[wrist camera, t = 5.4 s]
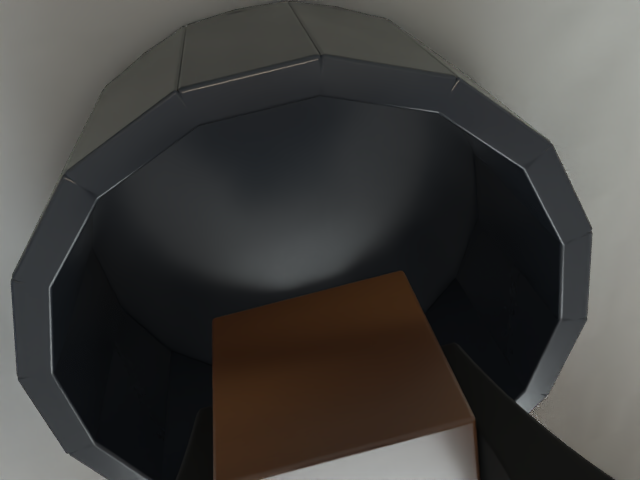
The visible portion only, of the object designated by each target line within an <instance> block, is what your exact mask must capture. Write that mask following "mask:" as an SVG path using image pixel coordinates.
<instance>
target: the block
mask: <svg viewBox="0 0 640 480" xmlns="http://www.w3.org/2000/svg"><path fill="white" fill-rule="evenodd" d="M212 388H213V480H481V479H480V466H479V454H478V442H477V429H476V418H475V416H474V414H473V412H472V410H471V408H470V406H469V404H468V402H467V399H466V397H465V395H464V393H463V391H462V389H461V387H460V385H459V383H458V381H457V379H456V377H455V375H454V373H453V371H452V369H451V367H450V365H449V363H448V361H447V359H446V357H445V355H444V353H443V351H442V349H441V346H440V344H439V342H438V340H437V338H436V336H435V334H434V332H433V330H432V328H431V326H430V324H429V322H428V320H427V318H426V316H425V314H424V312H423V310H422V308H421V306H420V304H419V302H418V300H417V298H416V295H415V293H414V291H413V289H412V287H411V285H410V283H409V281H408V279H407V277H406V275H405V273H404V272H403V271H396V272H392V273H388V274H384V275H380V276H377V277H373V278H369V279H365V280H361V281H357V282H353V283H349V284H345V285H341V286H337V287H334V288H330V289H326V290H322V291H318V292H314V293H310V294H306V295H302V296H298V297H295V298H291V299H287V300H283V301H279V302H275V303H271V304H267V305H263V306H259V307H256V308H252V309H248V310H244V311H240V312H236V313H232V314H228V315H224V316H220V317H216V318H214V319H213V320H212Z"/></svg>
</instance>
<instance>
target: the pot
mask: <svg viewBox="0 0 640 480" xmlns="http://www.w3.org/2000/svg"><path fill="white" fill-rule="evenodd" d="M591 230H592V227H591V224H590V222H589V220H588V218H587V216H586V214H585V212H584V210H583V207H582V205H581V203H580V201H579V199H578V197H577V195H576V193H575V190H574V188H573V186H572V184H571V182H570V180H569V178H568V176H567V173H566V171H565V169H564V167H563V165H562V163H561V161H560V159H559V156H558V154H557V152H556V150H555V148H554V146H553V144H551V142H550V141H549V140H548V139H547V138H546V137H544V136H543V135H542V134H541V133H539V132H538V131H537V130H535V129H534V128H533V127H532V126H530V125H529V124H528V123H526V122H525V121H524V120H523V119H521V118H520V117H519V116H518V115H516V114H515V113H514V112H512V111H511V110H510V109H509V108H507V107H506V106H505V105H503V104H502V103H501V102H500V101H498V100H497V99H496V98H495V97H493V96H492V95H491V94H489V93H488V92H487V91H486V90H484V89H483V88H482V87H481V86H479V85H478V84H477V83H475V82H474V81H473V80H472V79H470V78H469V77H468V76H466V75H465V74H464V73H463V72H461V71H460V70H459V69H457V68H456V67H455V66H453V65H452V64H450V63H449V62H448V61H446V60H445V59H443V58H442V57H441V56H439V55H438V54H436V53H435V52H434V51H432V50H431V49H429V48H428V47H427V46H425V45H424V44H423V43H422V42H420V41H418V40H417V39H415V38H414V37H413V36H411V35H410V34H408V33H407V32H406V31H404V30H403V29H401V28H400V27H399V26H397V25H396V24H395V23H393V22H392V21H390V20H387V19H386V18H382V17H377V16H371V15H367V14H363V13H359V12H355V11H351V10H348V9H344V8H340V7H336V6H328V5H319V4H310V3H301V2H295V1H289V2H286V1H283V2H279V3H275V4H264V5H258V6H253V7H247V8H241V9H235V10H232V11H229V12H226V13H223V14H219V15H216V16H213V17H210V18H207V19H204V20H201V21H199V22H196V23H191V24H188V25H187V26H183V27H182V28H180V29H179V30H178V31H176V32H175V33H174V34H172V35H171V36H169V37H168V38H166V39H165V40H163V41H162V42H160V43H159V44H157V45H156V46H154V47H153V48H151V49H150V50H148V51H147V52H145V53H144V54H143V55H142V56H141V57H140V58H139V59H137V60H136V61H135V62H134V63H133V64H132V65H131V66H130V67H129V68H127V69H126V70H125V71H124V72H123V73H122V74H121V75H119V76H118V77H117V78H115V79H114V80H113V81H112V82H110V83H109V84H108V85H106V87H105V89H103V91H102V93H101V95H100V97H99V99H98V101H97V103H96V105H95V107H94V109H93V111H92V113H91V115H90V117H89V119H88V121H87V123H86V125H85V127H84V129H83V131H82V133H81V135H80V137H79V139H78V141H77V143H76V145H75V147H74V149H73V151H72V153H71V155H70V157H69V159H68V161H67V163H66V165H65V167H64V169H63V171H62V173H61V175H60V177H59V179H58V181H57V183H56V185H55V188H54V190H53V192H52V194H51V196H50V198H49V200H48V202H47V204H46V206H45V208H44V210H43V212H42V214H41V216H40V218H39V221H38V223H37V225H36V227H35V229H34V231H33V233H32V235H31V237H30V239H29V241H28V243H27V245H26V247H25V249H24V251H23V253H22V256H21V258H20V260H19V262H18V264H17V266H16V268H15V270H14V272H13V274H12V279H11V293H12V308H13V324H14V339H15V355H16V370H17V376H18V381H19V382H20V384H21V385H22V387H23V388H24V390H25V391H26V393H27V394H28V396H29V397H30V399H31V400H32V402H33V403H34V405H35V406H36V408H37V409H38V411H39V413H40V414H41V416H42V417H43V419H44V420H45V422H46V423H47V425H48V426H49V428H50V429H51V431H52V432H53V434H54V435H55V437H56V438H57V440H58V441H59V443H60V444H61V446H62V447H63V449H64V451H65V452H66V453H69V454H70V456H72V457H73V458H75V459H77V460H78V461H80V462H81V463H83V464H84V465H86V466H88V467H89V468H91V469H92V470H94V471H95V472H97V473H98V474H100V475H102V476H103V477H105V478H106V479H108V480H176V478H177V475H178V472H179V469H180V466H181V464H182V461H183V458H184V455H185V452H186V449H187V446H188V442H189V439H190V436H191V433H192V429H193V426H194V422H195V418H196V415H197V413H198V411H199V410H200V409H201V408H204V407H208V406H212V405H213V388H212V320H213V319H214V318H216V317H220V316H224V315H228V314H232V313H236V312H240V311H244V310H248V309H252V308H256V307H259V306H263V305H267V304H271V303H275V302H279V301H283V300H287V299H291V298H295V297H298V296H302V295H306V294H310V293H314V292H318V291H322V290H326V289H330V288H334V287H337V286H341V285H345V284H349V283H353V282H357V281H361V280H365V279H369V278H373V277H377V276H380V275H384V274H388V273H392V272H396V271H403V272H404V273H405V275H406V277H407V279H408V281H409V283H410V285H411V287H412V289H413V291H414V293H415V295H416V298H417V300H418V302H419V304H420V306H421V308H422V310H423V312H424V314H425V316H426V318H427V320H428V322H429V324H430V326H431V328H432V330H433V332H434V334H435V336H436V338H437V340H438V342H439V344H440V346H442V345H446V344H450V343H456V344H458V345H459V346H460V347H461V348H462V349H463V350H464V351H465V352H466V353H467V355H468V356H469V357H470V358H471V359H472V360H473V361H474V362H475V363H476V364H477V365H478V366H479V367H480V368H481V369H482V370H483V371H484V372H485V374H486V375H488V376H489V377H490V378H491V379H492V380H493V381H494V382H495V383H496V384H497V385H498V386H499V387H500V388H501V389H502V390H503V391H504V392H505V393H506V394H507V395H508V396H509V397H511V398H512V399H513V400H514V401H515V402H516V403H517V404H518V405H519V406H521V407H522V408H523V409H524V410H525V411H526V412H527V413H528V414H529V413H530V412H531V411H532V410H533V409H534V408H535V407H536V406H537V405H538V404H539V403H540V402H541V401H542V400H543V399H544V398H545V397H546V396H547V395H548V394H549V392H550V390H551V389H552V387H553V385H554V383H555V381H556V379H557V377H558V375H559V373H560V371H561V369H562V367H563V365H564V363H565V361H566V360H567V358H568V356H569V354H570V352H571V350H572V348H573V346H574V344H575V342H576V340H577V338H578V336H579V334H580V332H581V331H582V329H583V327H584V325H585V323H586V321H587V313H588V296H589V280H590V264H591V248H592V231H591Z"/></svg>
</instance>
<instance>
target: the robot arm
mask: <svg viewBox="0 0 640 480" xmlns="http://www.w3.org/2000/svg"><path fill="white" fill-rule="evenodd" d="M441 349H442V351H443V353H444V355H445V357H446V359H447V361H448V363H449V365H450V367H451V369H452V371H453V373H454V375H455V377H456V379H457V381H458V383H459V385H460V387H461V389H462V391H463V393H464V395H465V397H466V399H467V402H468V404H469V406H470V408H471V410H472V412H473V414H474V416H475V418H476V429H477V442H478V454H479V466H480V479H481V480H615V479H613V478H612V477H610V476H609V475H607V474H606V473H604V472H603V471H602V470H600V469H599V468H597V467H596V466H594V465H593V464H592V463H590V462H589V461H587V460H586V459H585V458H583V457H582V456H581V455H579V454H578V453H577V452H575V451H574V450H573V449H571V448H570V447H569V446H567V445H566V444H565V443H564V442H562V441H561V440H560V439H559V438H557V437H556V436H555V435H554V434H552V433H551V432H550V431H549V430H547V429H546V428H545V427H544V426H543V425H541V424H540V423H539V422H538V421H537V420H535V419H534V418H533V417H532V416H531V415H530V414H528V413H527V412H526V411H525V410H524V409H523V408H522V407H521V406H519V405H518V404H517V403H516V402H515V401H514V400H513V399H512V398H511V397H509V396H508V395H507V394H506V393H505V392H504V391H503V390H502V389H501V388H500V387H499V386H498V385H497V384H496V383H495V382H494V381H493V380H492V379H491V378H490V377H489V376H488V375H486V374H485V372H484V371H483V370H482V369H481V368H480V367H479V366H478V365H477V364H476V363H475V362H474V361H473V360H472V359H471V358H470V357H469V356H468V355H467V353H466V352H465V351H464V350H463V349H462V348H461V347H460V346H459V345H458V344H456V343H450V344H446V345H442V346H441ZM176 480H213V405H212V406H208V407H204V408H201V409H200V410H199V411H198V413H197V415H196V418H195V422H194V426H193V429H192V433H191V436H190V439H189V442H188V446H187V449H186V452H185V455H184V458H183V461H182V464H181V466H180V469H179V472H178V475H177V478H176Z"/></svg>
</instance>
